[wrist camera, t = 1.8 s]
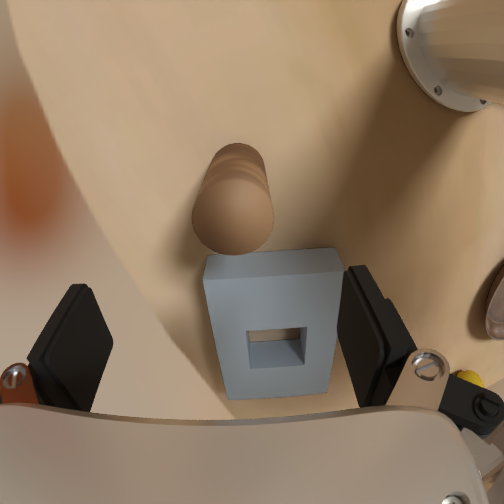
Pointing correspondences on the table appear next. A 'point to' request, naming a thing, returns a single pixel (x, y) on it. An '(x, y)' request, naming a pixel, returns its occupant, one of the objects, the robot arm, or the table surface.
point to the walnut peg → (234, 202)
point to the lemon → (470, 377)
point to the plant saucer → (495, 308)
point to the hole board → (274, 319)
